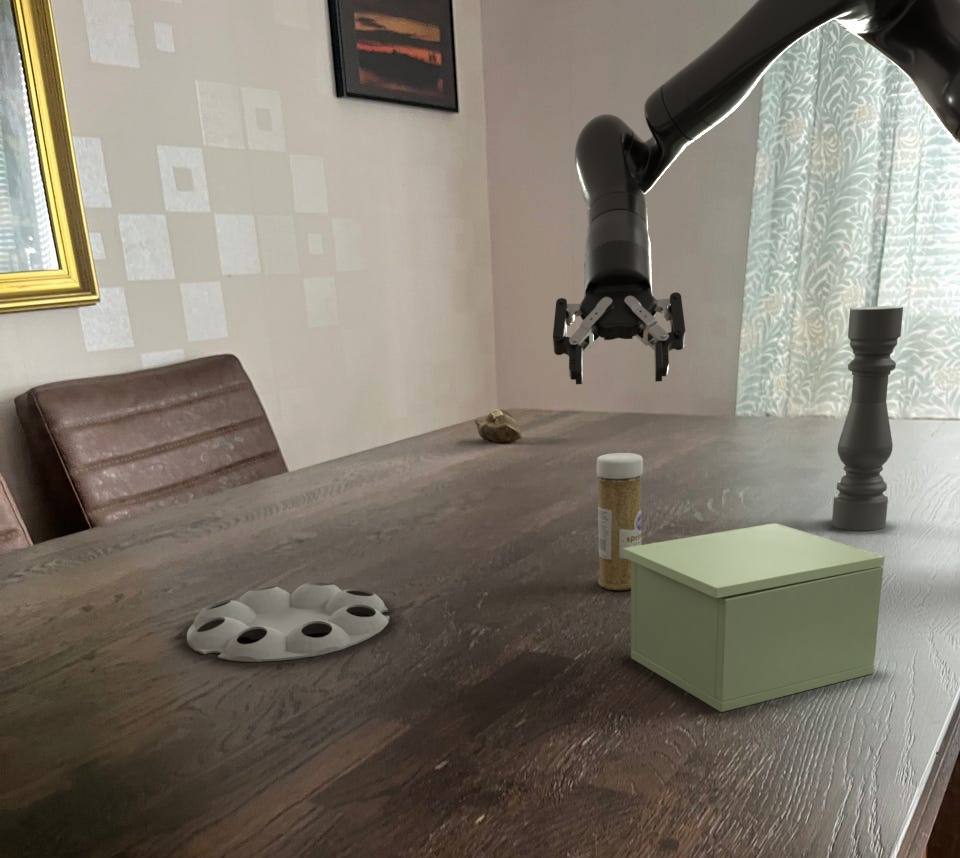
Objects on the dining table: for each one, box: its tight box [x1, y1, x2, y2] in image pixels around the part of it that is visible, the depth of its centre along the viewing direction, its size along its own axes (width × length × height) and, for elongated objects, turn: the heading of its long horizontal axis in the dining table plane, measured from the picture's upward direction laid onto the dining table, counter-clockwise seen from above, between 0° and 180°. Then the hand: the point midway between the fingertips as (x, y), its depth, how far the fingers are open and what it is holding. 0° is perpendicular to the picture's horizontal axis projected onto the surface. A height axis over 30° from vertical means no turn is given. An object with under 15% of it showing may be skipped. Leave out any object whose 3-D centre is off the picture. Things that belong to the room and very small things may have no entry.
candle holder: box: [831, 305, 904, 532], centre depth 117 cm, size 6×6×25 cm
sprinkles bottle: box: [596, 452, 644, 592], centre depth 101 cm, size 5×5×14 cm
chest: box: [630, 561, 884, 713], centre depth 80 cm, size 15×13×9 cm
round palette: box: [186, 582, 390, 663], centre depth 97 cm, size 20×20×2 cm
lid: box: [623, 522, 885, 598], centre depth 79 cm, size 15×13×1 cm
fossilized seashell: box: [474, 408, 523, 443], centre depth 191 cm, size 8×7×10 cm
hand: (618, 378), depth 107 cm, fingers open, 8 cm apart
